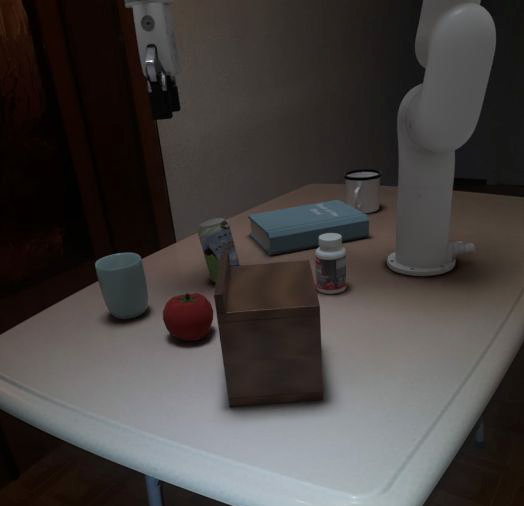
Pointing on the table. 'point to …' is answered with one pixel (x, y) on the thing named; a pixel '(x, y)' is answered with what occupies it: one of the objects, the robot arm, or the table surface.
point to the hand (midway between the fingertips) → (167, 115)
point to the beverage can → (216, 244)
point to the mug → (363, 189)
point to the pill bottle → (330, 264)
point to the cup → (123, 284)
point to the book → (306, 226)
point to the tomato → (188, 316)
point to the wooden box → (269, 332)
